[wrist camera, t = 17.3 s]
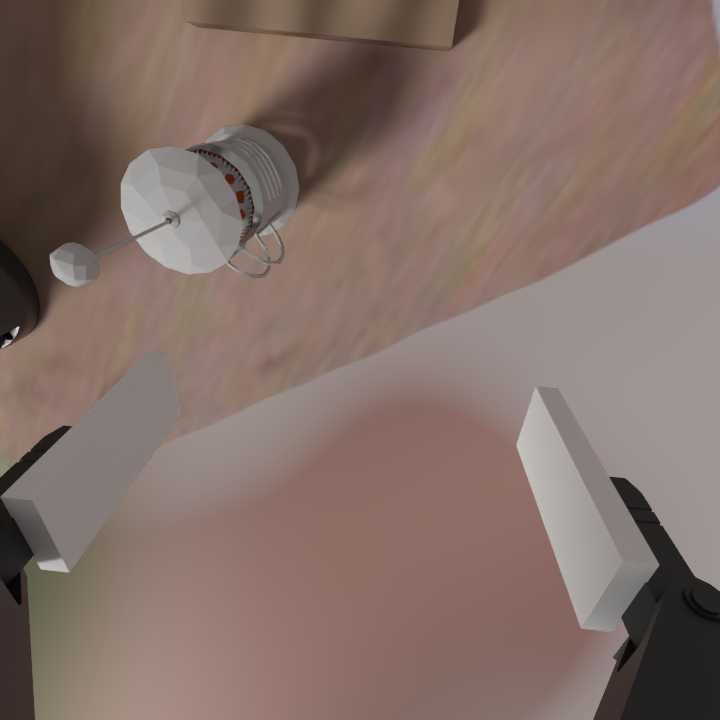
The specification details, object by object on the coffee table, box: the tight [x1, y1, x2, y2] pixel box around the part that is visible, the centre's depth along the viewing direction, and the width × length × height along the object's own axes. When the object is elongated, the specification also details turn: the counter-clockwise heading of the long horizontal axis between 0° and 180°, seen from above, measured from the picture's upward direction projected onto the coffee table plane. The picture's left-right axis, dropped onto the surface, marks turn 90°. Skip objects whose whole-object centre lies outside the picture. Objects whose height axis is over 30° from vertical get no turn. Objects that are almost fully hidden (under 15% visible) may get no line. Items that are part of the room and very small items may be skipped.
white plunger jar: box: [50, 124, 299, 287], centre depth 29 cm, size 10×12×25 cm
